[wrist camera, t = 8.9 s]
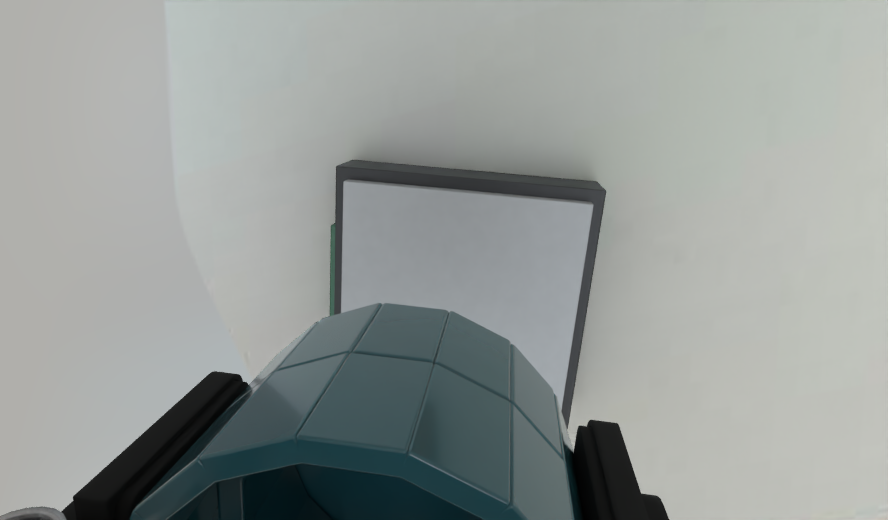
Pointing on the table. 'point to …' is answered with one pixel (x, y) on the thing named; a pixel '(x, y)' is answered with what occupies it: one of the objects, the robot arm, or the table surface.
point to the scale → (472, 253)
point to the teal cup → (382, 431)
